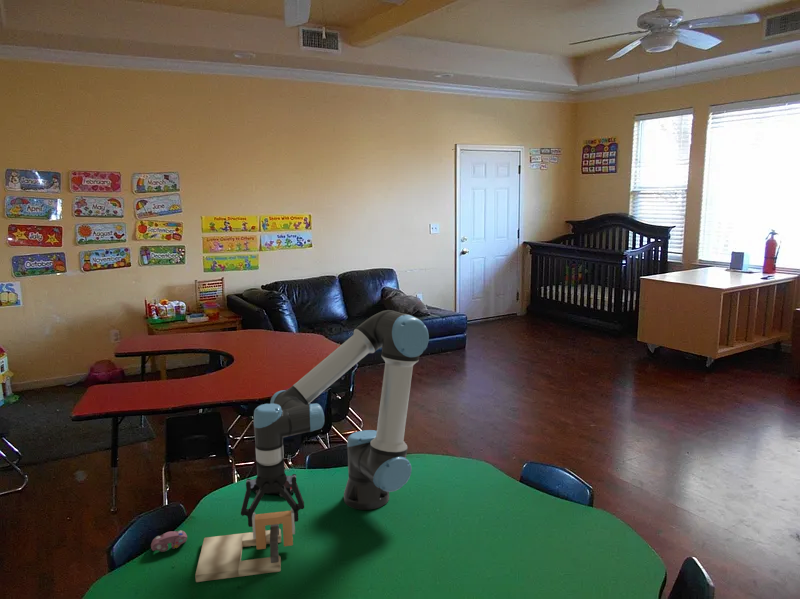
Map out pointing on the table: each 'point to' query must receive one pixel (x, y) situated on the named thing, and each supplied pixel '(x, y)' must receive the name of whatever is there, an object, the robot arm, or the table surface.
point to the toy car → (287, 486)
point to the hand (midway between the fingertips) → (274, 533)
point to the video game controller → (168, 540)
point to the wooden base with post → (236, 556)
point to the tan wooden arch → (273, 519)
